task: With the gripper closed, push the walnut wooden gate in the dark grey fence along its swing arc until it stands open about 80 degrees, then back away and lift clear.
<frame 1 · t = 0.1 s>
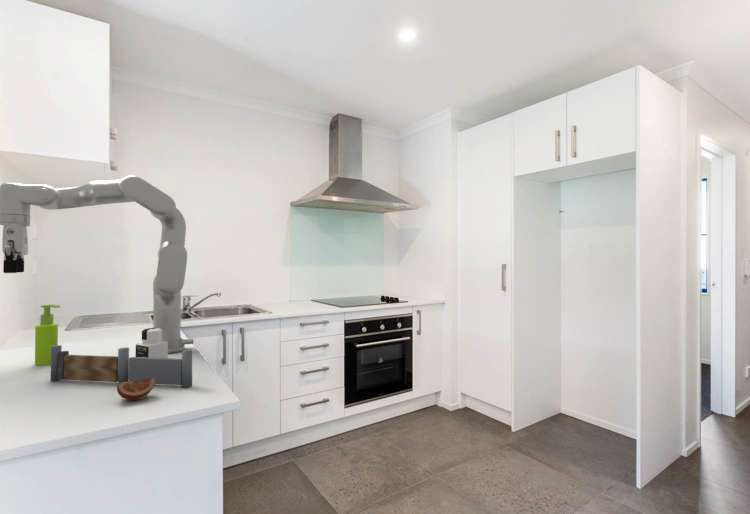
hand: (14, 272, 128), 31 cm above the countertop, fingers open, 9 cm apart
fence: (123, 383, 111), on the countertop
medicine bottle: (151, 364, 133), on the countertop
gate: (88, 366, 112), point 5 cm above the countertop, hinge at 0.0°
fruit slice: (136, 400, 98), on the countertop
soap dispenser: (47, 364, 133), on the countertop
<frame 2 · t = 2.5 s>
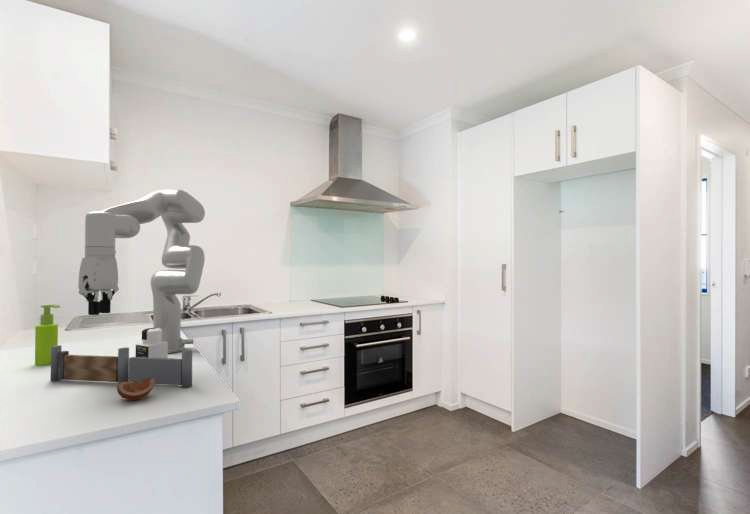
hand: (99, 313, 117), 19 cm above the countertop, fingers open, 3 cm apart
nothing on the countertop moved.
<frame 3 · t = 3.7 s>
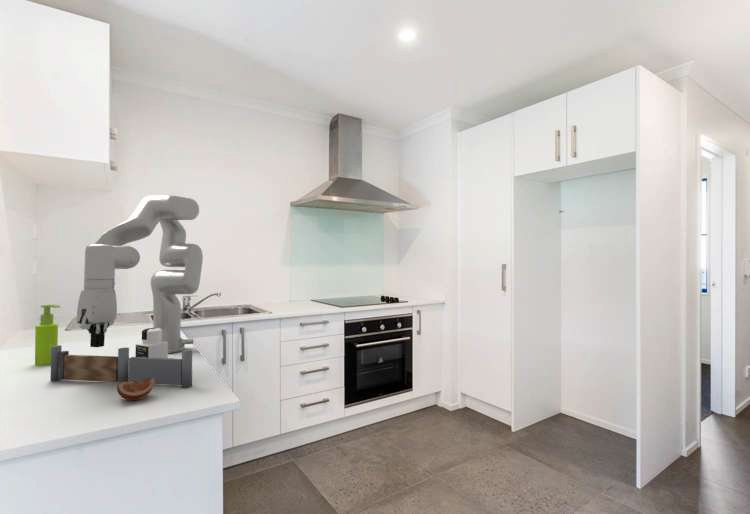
hand: (97, 346, 116), 9 cm above the countertop, fingers closed
nothing on the countertop moved.
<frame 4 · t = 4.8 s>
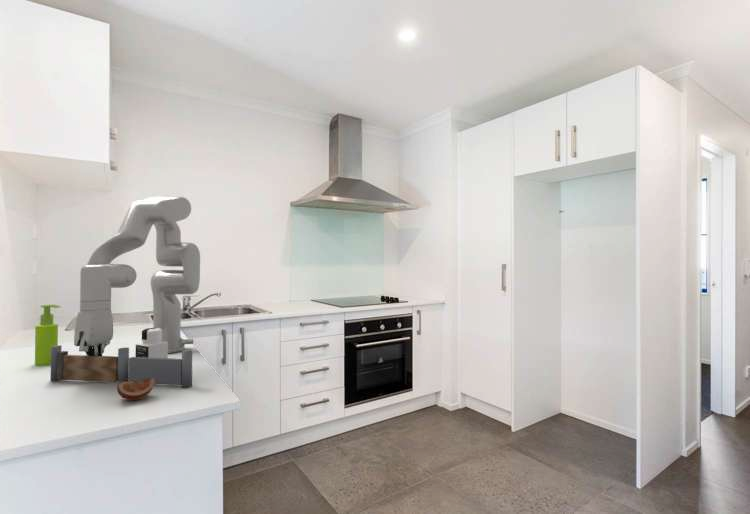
hand: (95, 367, 115), 3 cm above the countertop, fingers closed
gate: (88, 366, 112), point 5 cm above the countertop, hinge at 0.8°, touching gripper
everything else where it was.
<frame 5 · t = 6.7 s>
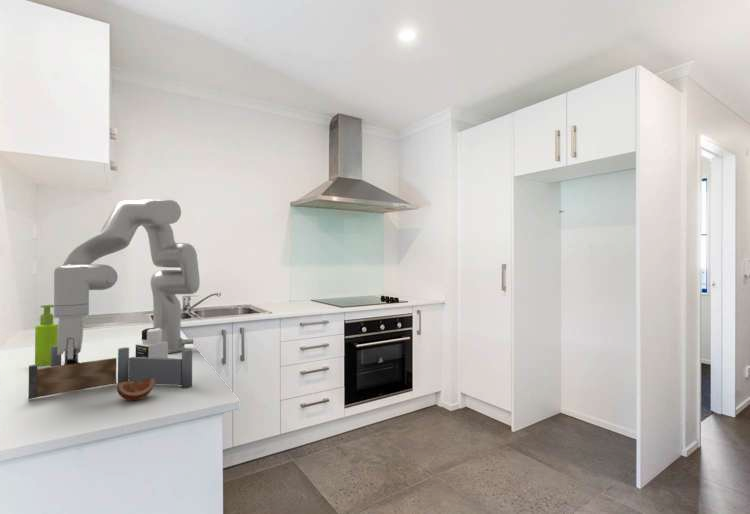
hand: (71, 378, 106), 3 cm above the countertop, fingers closed
gate: (74, 375, 103), point 5 cm above the countertop, hinge at 49.5°, touching gripper
everything else where it was.
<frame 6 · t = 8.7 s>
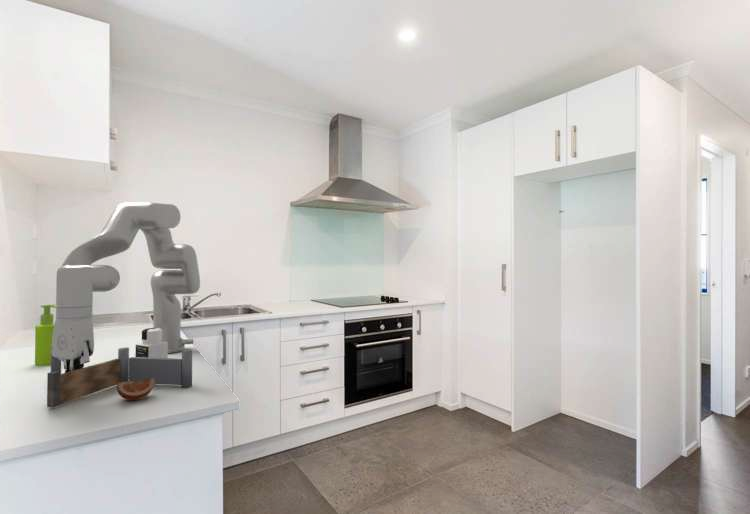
hand: (73, 384, 100), 3 cm above the countertop, fingers closed
gate: (87, 379, 100), point 5 cm above the countertop, hinge at 84.9°
everything else where it was.
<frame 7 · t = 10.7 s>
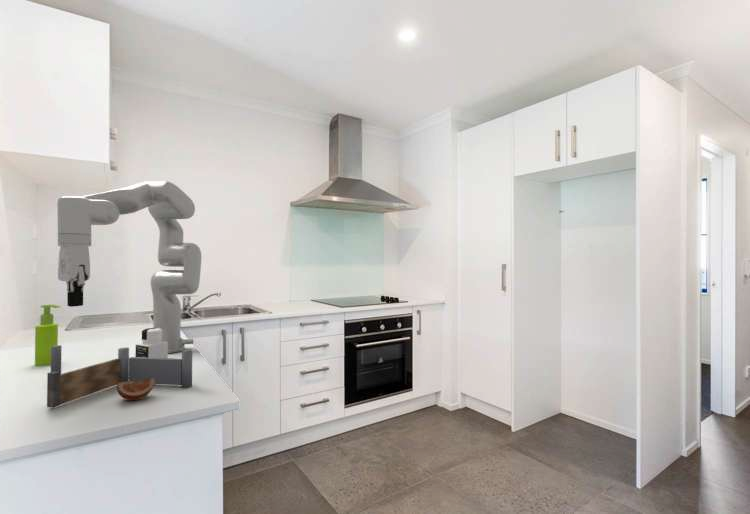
hand: (75, 305, 109), 22 cm above the countertop, fingers closed
nothing on the countertop moved.
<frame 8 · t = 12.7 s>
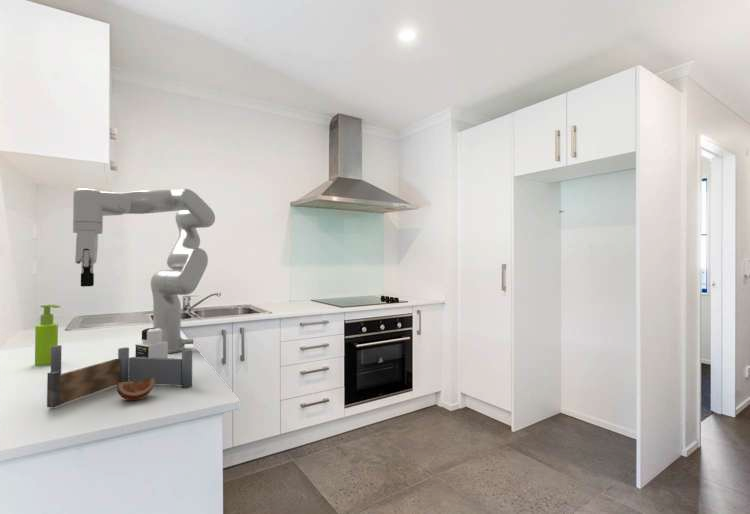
hand: (87, 286, 123), 27 cm above the countertop, fingers closed
nothing on the countertop moved.
at the end: gate at +85° (first picture: +0°) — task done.
